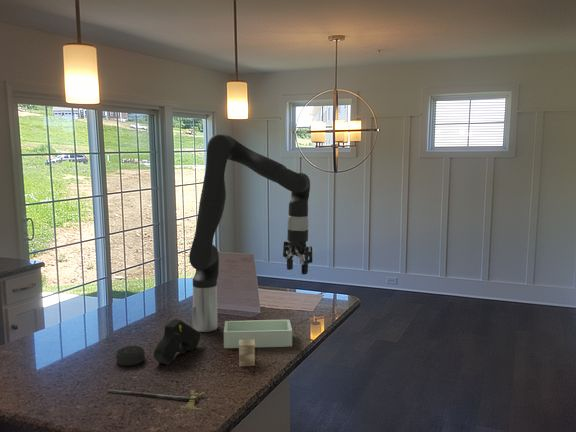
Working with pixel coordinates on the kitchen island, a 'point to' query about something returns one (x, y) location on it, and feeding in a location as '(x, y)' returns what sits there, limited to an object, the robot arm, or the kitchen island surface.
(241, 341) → the block
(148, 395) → the decorative axe
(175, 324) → the taser
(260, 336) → the tub
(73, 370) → the kitchen island surface
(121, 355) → the smart speaker
